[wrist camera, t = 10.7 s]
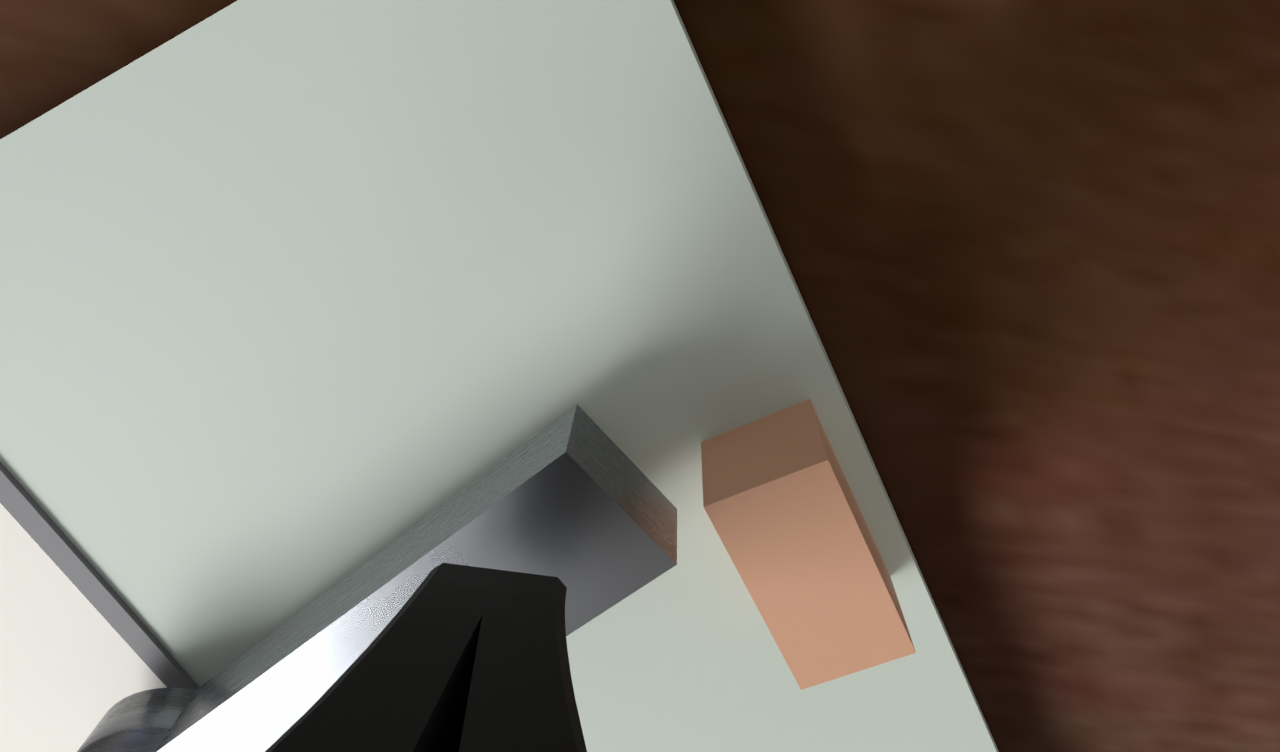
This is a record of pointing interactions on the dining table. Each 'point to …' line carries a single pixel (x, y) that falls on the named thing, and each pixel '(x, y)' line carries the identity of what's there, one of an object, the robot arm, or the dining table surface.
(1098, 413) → the dining table surface
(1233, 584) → the dining table surface
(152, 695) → the bar
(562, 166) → the plate
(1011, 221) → the dining table surface
